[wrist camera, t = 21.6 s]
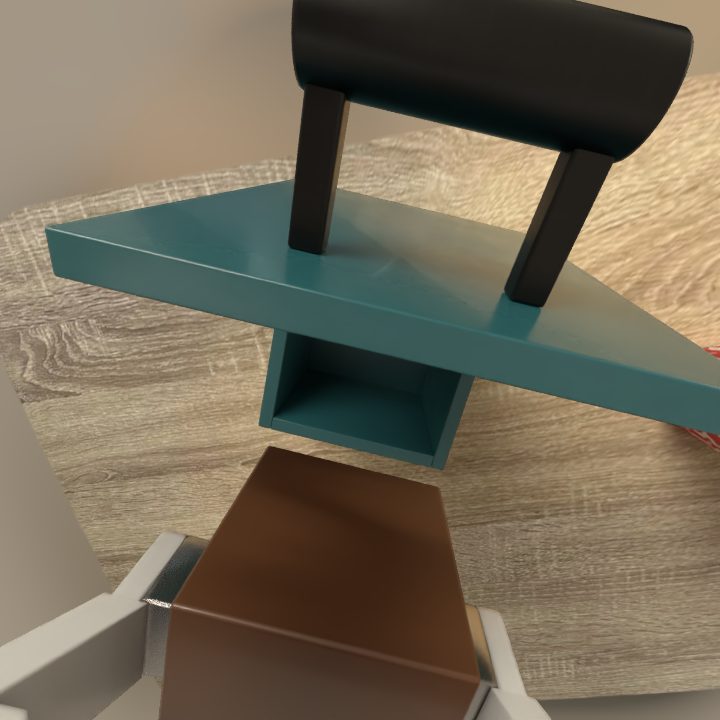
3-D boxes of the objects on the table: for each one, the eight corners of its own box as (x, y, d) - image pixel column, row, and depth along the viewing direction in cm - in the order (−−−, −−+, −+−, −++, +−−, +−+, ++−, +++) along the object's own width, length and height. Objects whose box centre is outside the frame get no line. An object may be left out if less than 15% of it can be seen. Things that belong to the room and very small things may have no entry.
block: (244, 579, 11) (148, 798, 6) (268, 443, 9) (168, 605, 5) (395, 616, 11) (400, 860, 6) (440, 486, 9) (484, 682, 5)
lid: (754, 445, 6) (1154, 31, 3) (53, 276, 6) (-57, -256, 4) (520, 250, 19) (571, 130, 16) (293, 195, 19) (308, 67, 16)
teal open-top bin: (425, 401, 33) (443, 470, 23) (298, 371, 33) (257, 426, 23) (473, 244, 29) (521, 242, 19) (328, 210, 29) (296, 188, 19)
